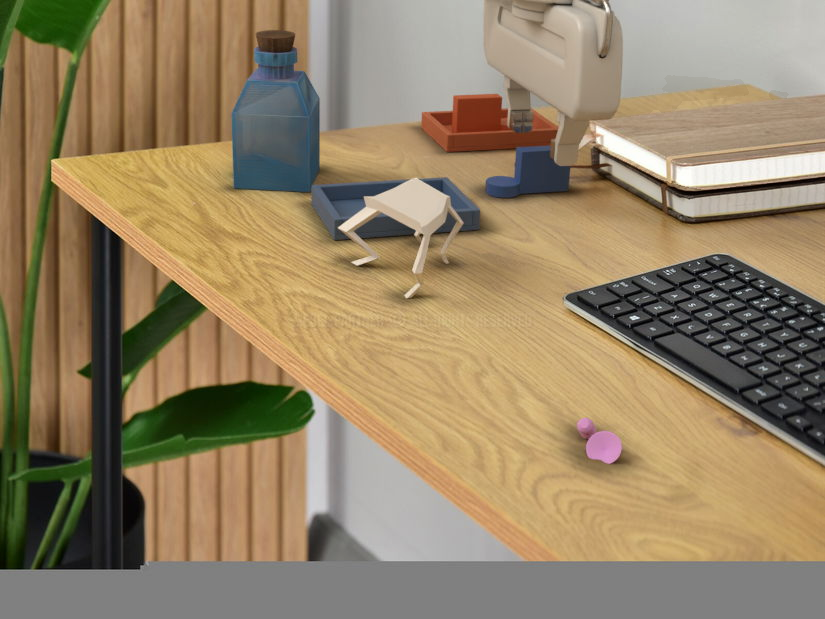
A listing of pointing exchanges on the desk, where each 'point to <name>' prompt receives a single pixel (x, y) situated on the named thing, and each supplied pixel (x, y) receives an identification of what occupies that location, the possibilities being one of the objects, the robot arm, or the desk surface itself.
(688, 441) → the desk surface
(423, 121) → the terracotta tray
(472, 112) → the red brick block
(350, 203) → the blue tray
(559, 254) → the desk surface
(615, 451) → the pink game pawn
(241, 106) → the perfume bottle
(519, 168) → the blue block with disc
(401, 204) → the origami figure
